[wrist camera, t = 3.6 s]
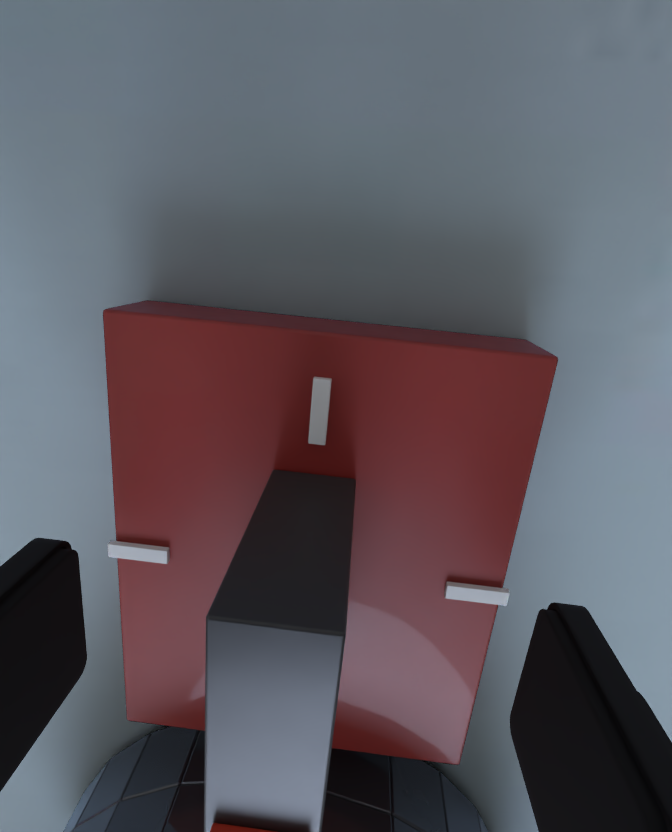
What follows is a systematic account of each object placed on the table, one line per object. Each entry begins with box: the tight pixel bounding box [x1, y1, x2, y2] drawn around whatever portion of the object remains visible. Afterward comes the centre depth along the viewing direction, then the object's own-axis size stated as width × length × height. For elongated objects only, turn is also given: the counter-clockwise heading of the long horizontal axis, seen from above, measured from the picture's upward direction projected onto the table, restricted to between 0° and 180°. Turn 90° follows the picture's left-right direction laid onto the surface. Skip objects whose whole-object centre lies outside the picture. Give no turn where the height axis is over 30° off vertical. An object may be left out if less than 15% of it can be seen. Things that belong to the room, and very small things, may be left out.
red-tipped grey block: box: [204, 470, 356, 832], centre depth 9 cm, size 5×2×5 cm, turn 175°
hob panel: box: [103, 300, 558, 765], centre depth 12 cm, size 11×9×2 cm
